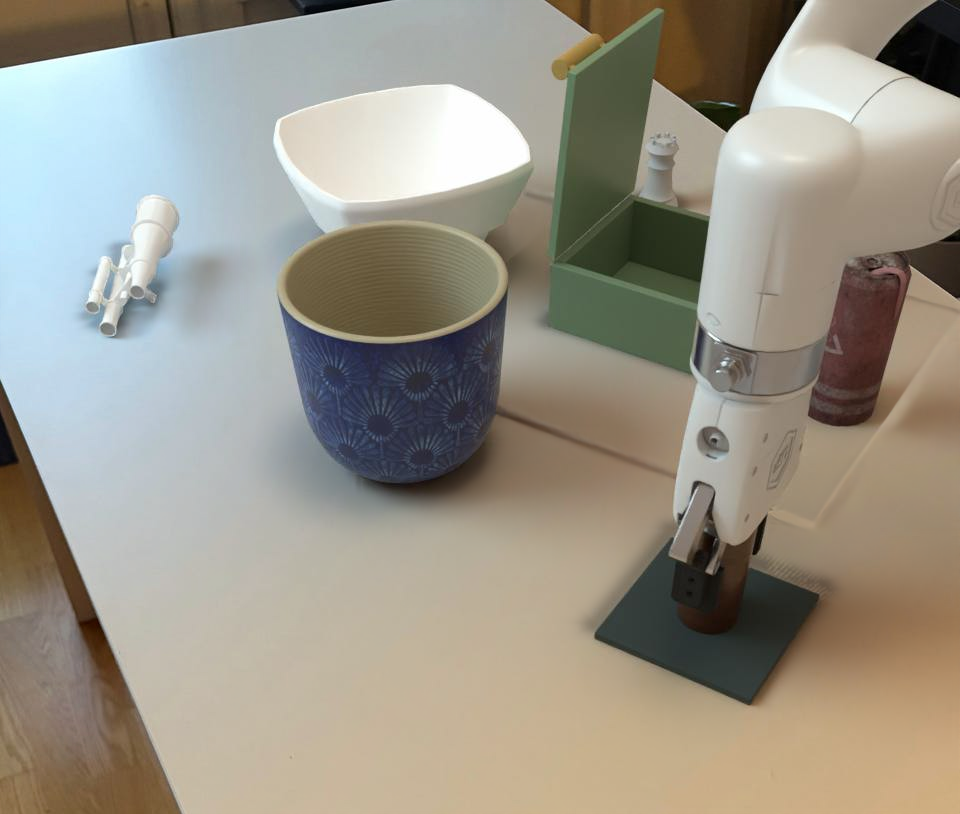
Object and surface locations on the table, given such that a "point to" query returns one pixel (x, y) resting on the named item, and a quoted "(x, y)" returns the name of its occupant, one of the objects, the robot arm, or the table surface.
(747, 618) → the mat
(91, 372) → the table surface
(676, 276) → the box
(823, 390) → the can
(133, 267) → the white plastic piece
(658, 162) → the rook chess piece
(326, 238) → the planter
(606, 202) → the lid
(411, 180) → the bowl
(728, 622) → the brown cylinder
